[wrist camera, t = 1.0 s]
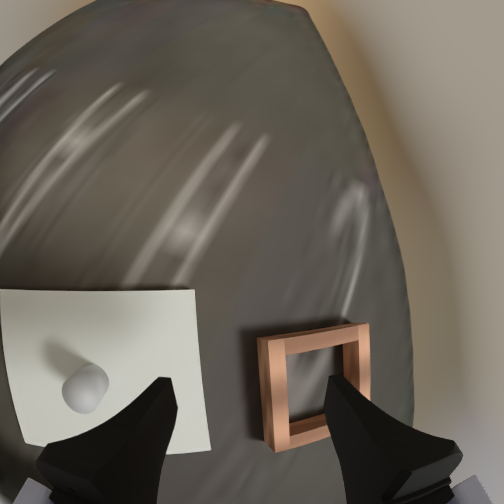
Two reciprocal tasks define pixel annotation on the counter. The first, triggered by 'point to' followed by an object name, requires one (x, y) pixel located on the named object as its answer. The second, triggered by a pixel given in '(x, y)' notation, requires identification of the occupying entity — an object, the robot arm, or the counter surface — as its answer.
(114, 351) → the hook board
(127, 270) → the counter surface
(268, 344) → the loop
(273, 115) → the counter surface
